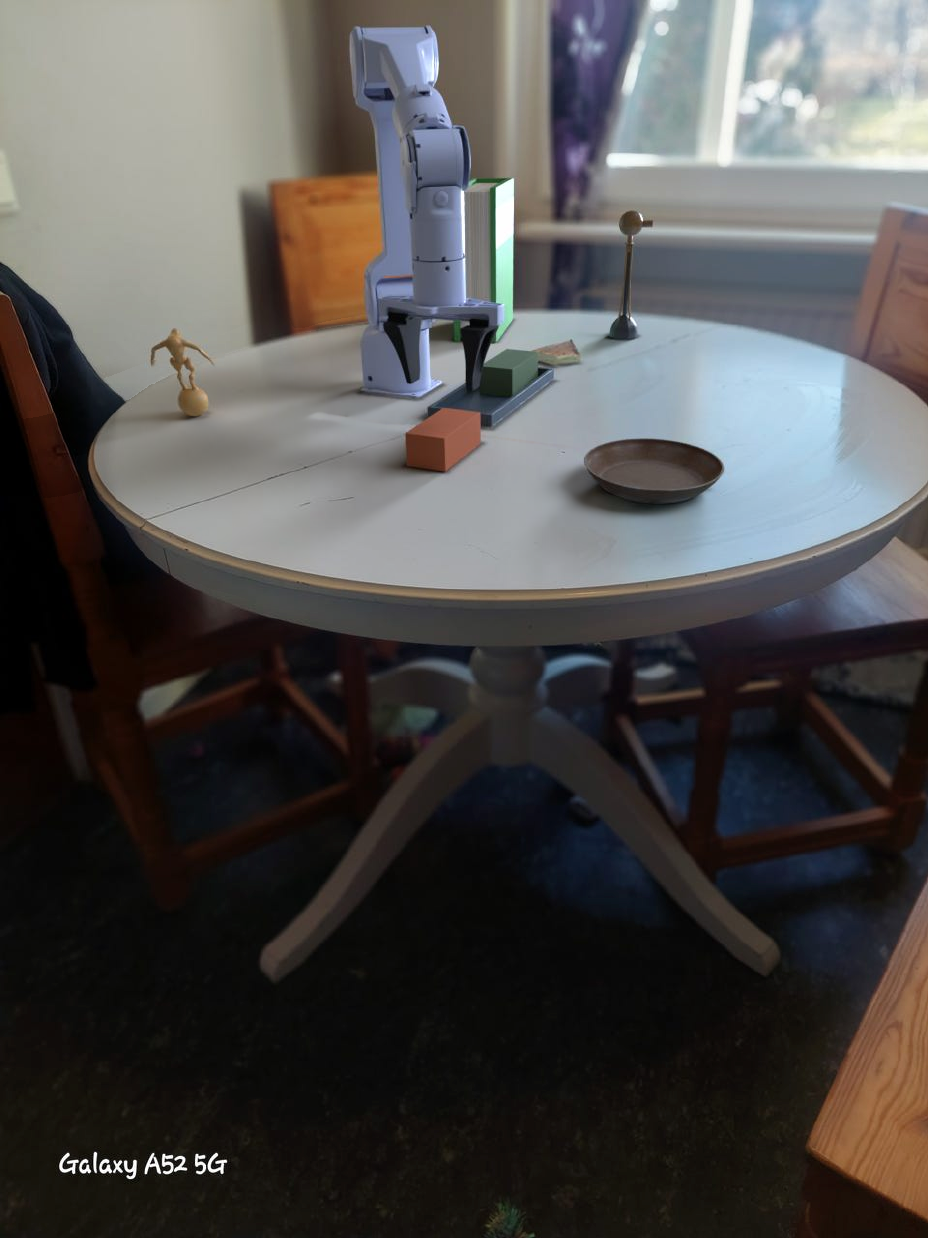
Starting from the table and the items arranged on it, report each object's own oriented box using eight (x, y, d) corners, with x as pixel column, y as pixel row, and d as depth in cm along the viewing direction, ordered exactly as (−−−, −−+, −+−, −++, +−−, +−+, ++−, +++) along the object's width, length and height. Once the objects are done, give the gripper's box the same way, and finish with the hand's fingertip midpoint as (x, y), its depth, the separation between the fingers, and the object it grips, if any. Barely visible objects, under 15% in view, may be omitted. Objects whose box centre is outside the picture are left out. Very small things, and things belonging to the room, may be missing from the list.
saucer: (748, 501, 90) (752, 477, 89) (618, 521, 87) (620, 496, 86) (679, 454, 103) (681, 431, 101) (562, 469, 99) (563, 446, 98)
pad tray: (427, 421, 115) (427, 406, 114) (496, 375, 133) (496, 362, 132) (491, 429, 111) (491, 414, 110) (553, 381, 129) (554, 368, 128)
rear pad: (479, 394, 123) (479, 365, 121) (506, 375, 131) (506, 348, 129) (512, 397, 121) (512, 369, 119) (537, 378, 129) (538, 351, 127)
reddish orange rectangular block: (406, 466, 101) (404, 432, 99) (444, 438, 109) (443, 407, 107) (445, 472, 99) (444, 438, 97) (481, 443, 107) (480, 412, 105)
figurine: (229, 410, 120) (215, 321, 114) (217, 424, 115) (201, 332, 109) (170, 410, 121) (153, 321, 115) (155, 425, 116) (136, 332, 110)
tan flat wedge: (571, 348, 146) (571, 337, 145) (606, 356, 141) (607, 344, 140) (526, 360, 140) (526, 349, 139) (561, 369, 135) (562, 357, 134)
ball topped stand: (642, 332, 154) (652, 208, 143) (644, 339, 150) (654, 211, 139) (608, 332, 154) (616, 208, 144) (609, 339, 150) (617, 212, 140)
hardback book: (496, 342, 150) (495, 187, 138) (454, 341, 151) (450, 187, 139) (512, 319, 165) (513, 177, 152) (474, 318, 166) (472, 177, 154)
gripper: (360, 260, 92) (370, 387, 99) (485, 267, 87) (486, 401, 94) (392, 250, 98) (399, 371, 105) (512, 256, 92) (511, 383, 99)
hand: (442, 384), depth 100 cm, fingers open, 7 cm apart
